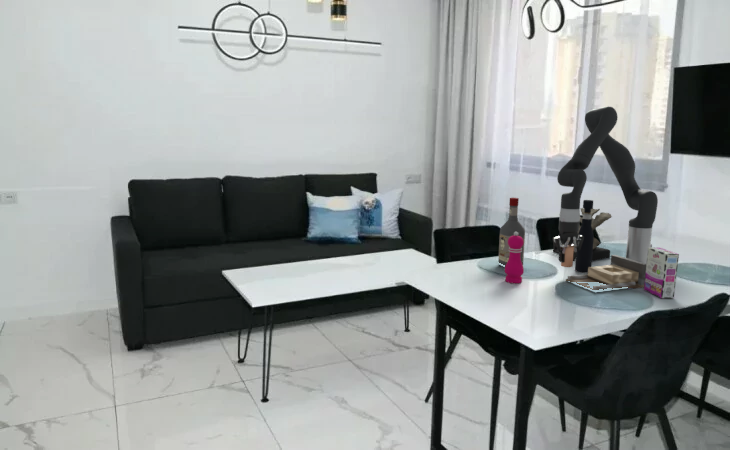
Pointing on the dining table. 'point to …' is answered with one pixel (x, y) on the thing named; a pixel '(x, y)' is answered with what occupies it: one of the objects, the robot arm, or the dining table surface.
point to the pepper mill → (514, 259)
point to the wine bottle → (585, 240)
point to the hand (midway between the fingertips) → (566, 261)
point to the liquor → (510, 233)
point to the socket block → (612, 274)
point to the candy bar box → (661, 272)
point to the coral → (597, 251)
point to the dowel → (568, 257)
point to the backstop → (623, 263)
